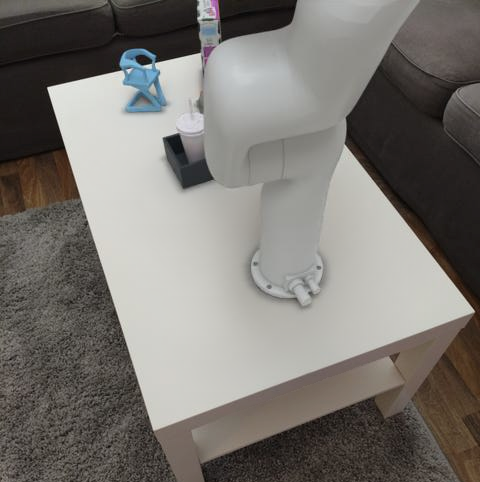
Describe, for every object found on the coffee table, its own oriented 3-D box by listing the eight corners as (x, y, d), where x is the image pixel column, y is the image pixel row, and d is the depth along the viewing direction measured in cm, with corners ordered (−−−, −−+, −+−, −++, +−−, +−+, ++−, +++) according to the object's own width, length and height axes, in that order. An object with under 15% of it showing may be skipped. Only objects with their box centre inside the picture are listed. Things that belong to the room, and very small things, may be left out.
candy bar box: (225, 93, 107) (219, 18, 93) (204, 95, 107) (196, 20, 93) (223, 68, 113) (218, -6, 99) (203, 70, 113) (196, -4, 99)
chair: (157, 117, 103) (146, 64, 93) (125, 111, 104) (111, 59, 94) (170, 98, 107) (160, 46, 96) (139, 93, 108) (126, 41, 98)
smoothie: (214, 154, 94) (208, 91, 82) (210, 174, 91) (203, 111, 79) (185, 153, 94) (175, 90, 83) (180, 173, 91) (168, 110, 79)
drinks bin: (231, 173, 91) (230, 152, 87) (183, 189, 89) (179, 168, 85) (212, 144, 97) (210, 123, 92) (166, 158, 95) (162, 137, 90)
